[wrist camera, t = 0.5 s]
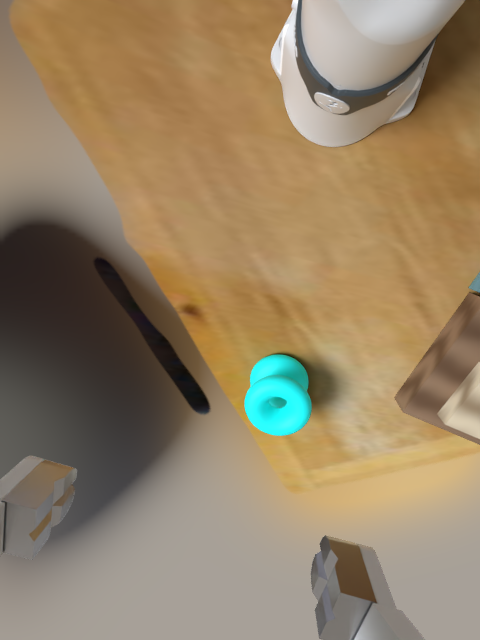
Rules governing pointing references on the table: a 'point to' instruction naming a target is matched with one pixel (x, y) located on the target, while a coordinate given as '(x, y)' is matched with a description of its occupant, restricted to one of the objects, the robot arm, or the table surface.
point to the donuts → (278, 395)
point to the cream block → (464, 406)
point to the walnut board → (444, 367)
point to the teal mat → (476, 284)
